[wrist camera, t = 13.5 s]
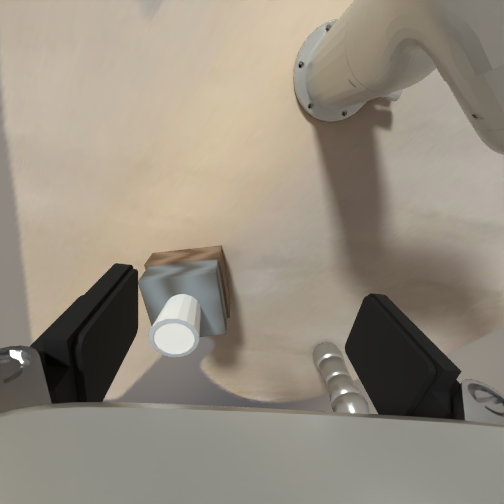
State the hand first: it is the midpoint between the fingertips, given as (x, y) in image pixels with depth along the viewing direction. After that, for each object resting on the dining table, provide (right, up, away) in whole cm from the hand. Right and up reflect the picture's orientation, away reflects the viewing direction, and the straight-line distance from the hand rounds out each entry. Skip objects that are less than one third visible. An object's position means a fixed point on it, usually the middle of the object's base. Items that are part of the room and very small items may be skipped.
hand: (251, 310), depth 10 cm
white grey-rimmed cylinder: (-11, -7, +31) cm, 34 cm away
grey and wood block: (-12, -3, +40) cm, 42 cm away
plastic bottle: (+17, -21, +50) cm, 57 cm away
